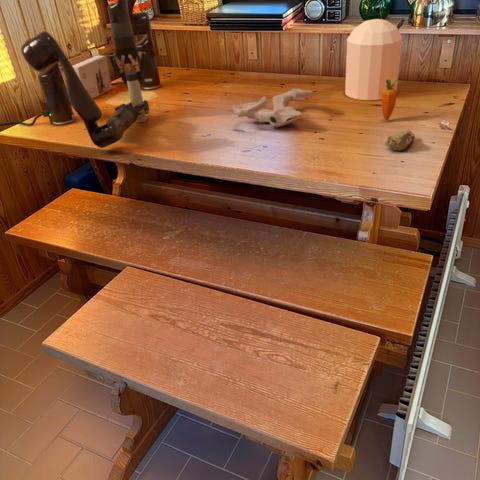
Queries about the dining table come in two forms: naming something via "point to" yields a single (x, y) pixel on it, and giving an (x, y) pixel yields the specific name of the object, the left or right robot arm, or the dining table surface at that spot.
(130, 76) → the lid
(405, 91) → the dining table surface
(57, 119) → the left robot arm
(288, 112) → the beige irregular branched piece
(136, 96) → the jar
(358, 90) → the container
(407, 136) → the rock
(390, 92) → the carrot
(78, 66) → the skincare box
